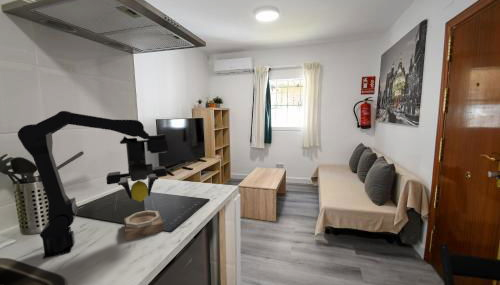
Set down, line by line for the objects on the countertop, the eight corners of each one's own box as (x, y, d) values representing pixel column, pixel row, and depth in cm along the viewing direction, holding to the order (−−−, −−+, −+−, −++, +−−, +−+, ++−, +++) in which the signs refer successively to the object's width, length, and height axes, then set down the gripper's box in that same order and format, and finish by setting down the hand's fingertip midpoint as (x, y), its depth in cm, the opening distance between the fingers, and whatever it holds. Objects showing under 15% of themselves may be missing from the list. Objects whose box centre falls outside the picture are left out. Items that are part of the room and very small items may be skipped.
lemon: (144, 197, 83) (142, 177, 82) (151, 201, 79) (149, 180, 78) (129, 202, 78) (127, 181, 77) (135, 206, 75) (133, 184, 74)
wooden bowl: (125, 240, 73) (124, 228, 72) (124, 225, 83) (124, 214, 83) (163, 230, 79) (162, 219, 78) (158, 217, 89) (157, 207, 89)
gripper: (102, 162, 65) (108, 211, 67) (168, 155, 74) (171, 199, 76) (105, 156, 75) (110, 200, 77) (163, 151, 84) (165, 190, 86)
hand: (140, 197), depth 79 cm, fingers closed on lemon, 5 cm apart
